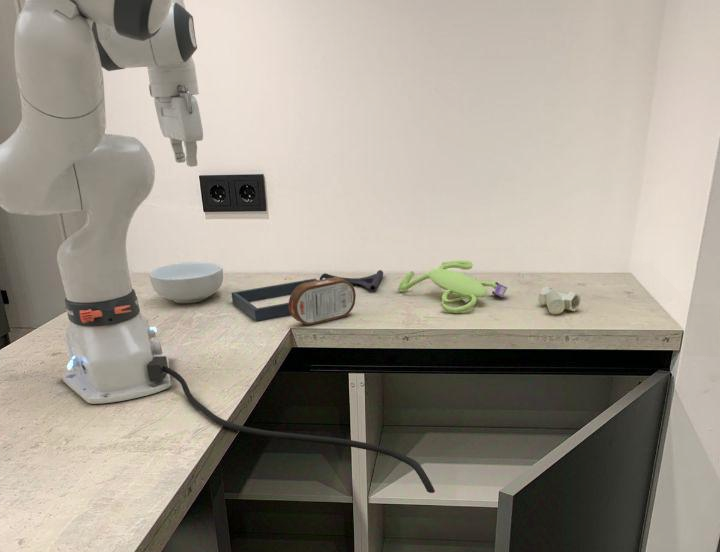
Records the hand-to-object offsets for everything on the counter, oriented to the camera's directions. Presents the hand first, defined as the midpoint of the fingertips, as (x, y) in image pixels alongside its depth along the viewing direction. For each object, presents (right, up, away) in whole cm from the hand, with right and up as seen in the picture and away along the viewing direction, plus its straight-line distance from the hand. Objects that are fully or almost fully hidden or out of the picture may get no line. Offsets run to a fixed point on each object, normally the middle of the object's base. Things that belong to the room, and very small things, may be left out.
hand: (186, 164), depth 146 cm
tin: (+27, -30, +8) cm, 41 cm away
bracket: (+32, -15, +33) cm, 49 cm away
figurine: (+56, -21, +20) cm, 63 cm away
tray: (+18, -23, +21) cm, 36 cm away
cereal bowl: (-6, -20, +29) cm, 36 cm away
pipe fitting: (+75, -28, +6) cm, 80 cm away
